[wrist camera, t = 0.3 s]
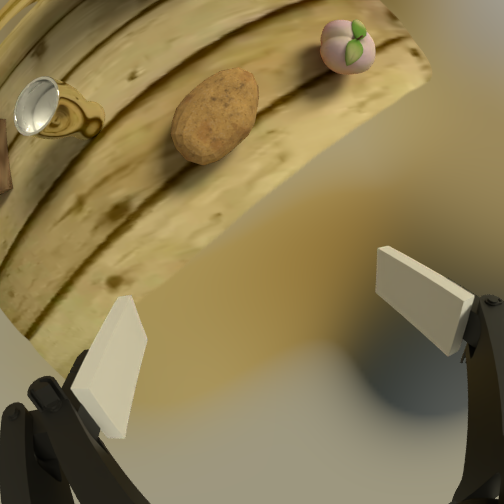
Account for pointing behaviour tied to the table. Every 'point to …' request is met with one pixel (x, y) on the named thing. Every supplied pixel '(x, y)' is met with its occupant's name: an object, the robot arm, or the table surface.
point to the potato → (215, 116)
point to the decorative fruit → (347, 47)
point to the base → (4, 160)
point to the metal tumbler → (56, 111)
